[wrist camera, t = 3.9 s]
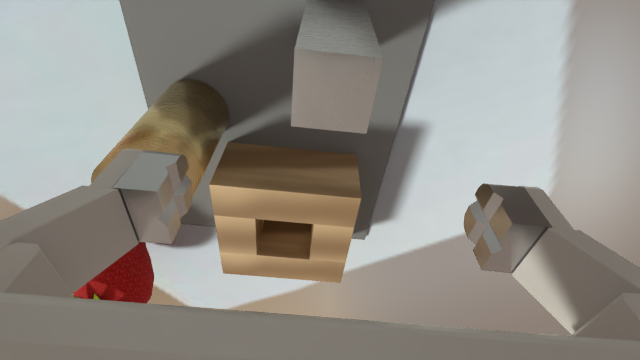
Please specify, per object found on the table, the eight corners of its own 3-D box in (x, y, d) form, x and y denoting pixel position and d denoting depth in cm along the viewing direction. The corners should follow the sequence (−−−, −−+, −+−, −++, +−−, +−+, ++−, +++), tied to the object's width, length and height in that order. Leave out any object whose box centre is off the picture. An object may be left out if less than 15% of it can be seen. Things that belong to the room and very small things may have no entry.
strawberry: (145, 206, 30) (82, 307, 23) (185, 255, 35) (144, 352, 28) (91, 215, 32) (14, 315, 24) (137, 261, 36) (84, 357, 29)
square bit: (308, -5, 19) (294, 48, 12) (364, 1, 19) (383, 58, 12) (304, 52, 21) (290, 126, 14) (355, 57, 21) (366, 133, 14)
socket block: (227, 141, 25) (209, 184, 21) (356, 154, 26) (361, 198, 22) (236, 228, 32) (223, 273, 28) (339, 237, 32) (340, 282, 28)
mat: (107, -60, 17) (103, -60, 17) (437, -20, 18) (439, -19, 18) (180, 220, 32) (178, 223, 31) (364, 236, 32) (364, 239, 32)
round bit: (157, 75, 22) (76, 154, 15) (226, 82, 22) (178, 163, 15) (170, 134, 25) (108, 222, 18) (231, 140, 25) (193, 229, 18)
